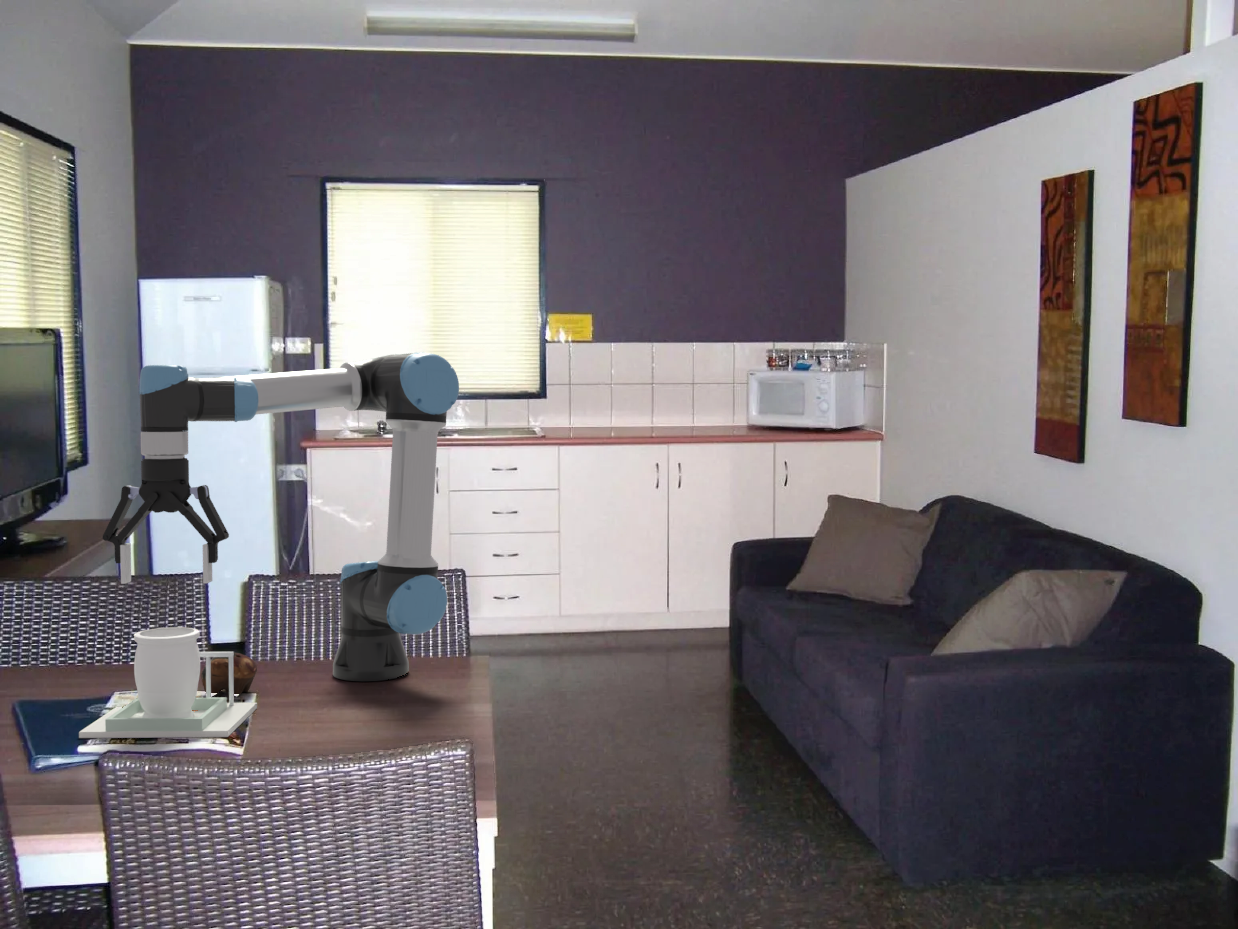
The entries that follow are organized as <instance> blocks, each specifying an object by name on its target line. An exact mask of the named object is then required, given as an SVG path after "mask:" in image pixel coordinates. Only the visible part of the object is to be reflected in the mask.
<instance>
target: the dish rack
mask: <svg viewBox="0 0 1238 929" xmlns="http://www.w3.org/2000/svg"><path fill="white" fill-rule="evenodd" d="M234 653H235V651H199V654H200V658H205V666H206V693H205V697H196V698H195V701H194V703H193V705H192V706H191V709H192V710H198V711H195V712H194V711H193V712H194V717H193V718H142V716H143V714H144V712H145V711H144V710H143V708H142V706H141V704H140V701H139V698H138V697H136V698H135V699H133V700H132V701H130V702H128V703H129V704H127V705H126V706H124V707H123V708H122V707H117V706H116V707H114V708H113V709H111V710H109V711H108V712H107V713H105V714H104V715H102V716H100V717H99V718H98V719H97V720H95V721H93V722H92V723H90V724H88V725H87V726H86V727H84V728H83V729H81V730H80V731H79V732H78V739H107V738H108V739H118V738H119V739H120V738H121V739H123V738H124V739H125V738H128V739H129V738H133V739H134V738H135V739H137V738H138V739H139V738H140V739H141V738H228V737H229V736H230V735H232V733H233V732H234V731H235V730H237V729H238V727H240V725H242V724H243V723H244V722H245V721H247V719H248V718H249V717H250V716H251V715H252V714H253V713H254V711H256V710H257V709H258V702H235V697H234V674H233V656H234ZM214 657H229V692H228V697H227V696H225V697H222V696H221V697H219V696H217V697H215V696H214V697H211V660H212V659H211V658H214ZM227 700H228V702H227Z"/></svg>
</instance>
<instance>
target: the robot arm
mask: <svg viewBox="0 0 1238 929" xmlns="http://www.w3.org/2000/svg"><path fill="white" fill-rule="evenodd" d="M139 374H140V377H139V391H138V395H139V412H140V454H141V455H142V456H144V458H142V460H140V461H141V462H140V467H141V468H140V477H141V485H140V487H139V486H138V487H137V486H134V485H131V484H129V485H124V486H122V488H121V490H120V491H121V493H120V500H119V501H118V504H117V506H116V508H115V510H114V512H113V514H112V516H111V518H110V520H109V522H108V523H107V526H106V528H105V531H104V532H103V534H102V540H103V541H105V542H110V543H112V544H113V545H114V561H115V564H120V584H121V585H124V584H125V585H126V584H129V583H130V582H131V583H132V550H131V549H132V548H131V546H132V544H131V543H127V540H128V539H129V538H130V537H131V535H132V534H133V533H135V531H136V530H137V528H139V526H140V525H141V524H142V523H143V521H144V520H145V519H146V517H147V516H148V515H150V514H151V513H152V512H153V513H157V514H158V513H169V514H170V513H176V512H179V514H180V515H182V516H184V517H185V519H186V520H187V521H188V522H189V523H190V525H191V526H192V527H193V528H194V529H195V530H196V531H197V532H198V534H199V535H200V536H201V537H202V539H204V541H206V543H204V544H202V582H203V583H202V584H210V583H211V582H213V564H215V563H217V562H218V560H219V555H218V554H219V551H218V550H219V549H218V548H219V547H218V546H219V545H218V544H219V543H220V542H221V541H225V540H227V539H228V538H229V537H230V533H229V532H228V530H227V527H226V526H225V524H224V523H223V520H222V518H221V516H220V515H219V513H218V511H217V508H216V507H215V505H214V503H213V501H212V499H211V497H210V496H211V495H210V489H209V486H208V485H207V484H203V485H199V486H196V487H194V486H193V487H191V484H190V468H189V467H190V465H189V464H190V463H189V459H188V458H187V457H186V456H187V455H188V454H189V422H234V423H237V422H245V421H251V420H253V419H254V418H255V417H256V415H267V414H277V413H288V412H299V411H300V412H301V411H308V410H321V409H330V408H331V409H332V408H342V407H343V409H345V410H347V411H349V412H353V411H376V412H385V422H386V423H387V425H388V426H389V427H390V428H391V430H392V444H391V446H392V447H391V461H390V462H391V463H390V478H389V479H390V482H389V499H388V512H387V513H388V515H387V532H386V534H387V536H386V549H385V550H386V552H385V554H384V555H383V556H382V557H381V558H380V559H379V560H373V561H372V560H370V561H361V562H359V561H358V562H351V563H349V562H348V563H346V564H343V566H342V568H341V575H340V580H339V584H340V605H341V606H340V611H341V613H340V615H341V616H340V617H341V620H340V621H341V622H340V623H341V626H340V627H341V639H340V641H339V644H338V648H337V650H336V653H335V656H334V659H333V663H332V676H333V677H334V678H336V679H339V680H343V681H350V682H379V681H381V682H382V681H387V680H388V679H389V680H393V679H394V680H395V679H398V678H397V677H399V676H401V675H404V674H406V673H407V672H408V671H409V670H410V668H409V666H410V664H409V663H410V662H409V659H408V655H407V652H406V650H405V647H404V643H403V640H402V637H401V634H402V635H421V634H424V633H427V632H429V631H431V630H432V629H433V628H434V627H435V626H436V625H437V624H439V622H441V620H442V619H443V617H444V615H445V614H446V613H445V612H446V609H447V605H448V593H447V589H446V587H445V586H444V585H443V583H442V581H440V580H439V579H438V575H439V573H438V572H439V563H438V562H437V561H436V560H435V559H434V557H433V556H432V541H433V526H434V525H433V523H434V505H435V487H436V467H437V449H438V434H439V432H440V431H441V430H442V429H443V428H444V427H445V426H446V425H447V415H448V414H447V413H448V411H449V410H450V409H452V407H453V405H454V404H456V403H457V400H458V398H459V393H460V383H459V377H458V375H457V372H456V370H455V368H454V367H453V366H452V365H451V364H450V362H449V361H448V360H446V359H445V358H444V357H442V356H440V355H439V354H435V353H428V352H424V351H423V352H417V351H416V352H411V353H410V352H409V353H401V354H396V353H395V354H387V355H382V356H378V357H375V358H370V359H365V360H364V359H363V360H359V361H352V362H351V361H350V362H343V364H341V365H340V367H338V368H337V367H336V368H325V369H324V368H323V369H312V370H310V369H309V370H297V371H284V372H269V373H255V374H243V375H241V374H240V375H229V376H218V377H215V376H213V377H201V378H200V377H192V376H191V377H189V374H188V369H187V367H186V366H184V365H174V364H173V365H172V364H168V365H167V364H165V365H164V364H153V365H151V364H150V365H149V364H148V365H145V366H144V367H142V368H141V370H140V373H139ZM138 495H139V496H140V497H141V499H142V500H143V501H144V502H143V503H142V504H141V506H140V507H139V508H138V509H137V511H136V513H134V514H133V516H132V517H131V519H129V521H128V522H127V523H126V525H125V526H124V527H122V529H121V530H120V527H121V525H122V523H123V522H124V519H125V517H126V515H127V513H128V511H129V509H130V507H131V505H132V503H133V501H134V500H135V499H136V498H137V496H138ZM192 495H193V496H194V498H195V499H196V500H198V503H199V505H200V507H201V508H202V510H203V512H204V514H205V516H206V518H207V520H208V522H209V524H210V526H211V527H212V529H213V530H212V529H211V528H210V527H209V525H207V523H206V522H205V521H204V520H203V518H202V517H201V516H200V515H199V514H198V512H196V511H195V510H194V507H193V506H192V505H191V504H190V503H189V502H188V500H189V498H190V497H191V496H192ZM119 530H120V531H119ZM118 531H119V532H118ZM409 672H410V671H409ZM406 675H407V674H406ZM404 676H405V675H404ZM399 678H400V677H399Z"/></svg>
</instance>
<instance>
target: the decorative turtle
mask: <svg viewBox="0 0 1238 929" xmlns="http://www.w3.org/2000/svg"><path fill="white" fill-rule="evenodd" d="M257 671H258V665H257V663H256V661H255V660H254V659H253V658H251V657H249V656H248V655H246V654H243V653H240V652H234V656H233V674H234V694H240V695H242V693H247V692H248V691H249V690H250V688H251V687H252V684H253V681H254V679H255V677H256V674H257ZM200 678H201V682H202V686H203V689H204V690H203V691H204V693H205V692H206V665H205V666H204V667H203V670H202V671H201V673H200ZM221 690H223V691H226V692H228V693H229V657H212V659H211V693H217V694H219V693H221V692H222V691H221ZM220 691H221V692H220Z"/></svg>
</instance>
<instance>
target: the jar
mask: <svg viewBox="0 0 1238 929" xmlns="http://www.w3.org/2000/svg"><path fill="white" fill-rule="evenodd" d="M133 636H134V637H133V640H134V641H135V642H136V644H137V647H136V649H135V654H134V663H133V674H134V681H135V685H136V690H137V692H136V693H137V698H139V701H140V704H141V706H142V708H143V710H144V711H145V712H144V714H143V716H142V718H193V717H194V712H193V711H192V709H191V706H192V705H193V703H194V701H195V698H197V694H198V689H199V688H198V687H199V680H200V677H201V657H200V654H199V652H200V649H199V644H198V642H197V639H199V637H200V636H201V634H200V629H197V628H193V627H181V626H179V627H177V626H174V627H158V628H151V629H144V630H141V631H138V632H135V633H134V634H133Z"/></svg>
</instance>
